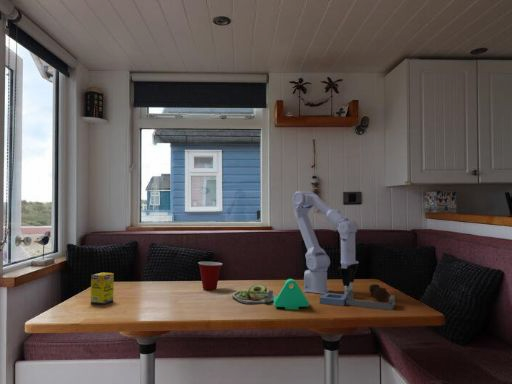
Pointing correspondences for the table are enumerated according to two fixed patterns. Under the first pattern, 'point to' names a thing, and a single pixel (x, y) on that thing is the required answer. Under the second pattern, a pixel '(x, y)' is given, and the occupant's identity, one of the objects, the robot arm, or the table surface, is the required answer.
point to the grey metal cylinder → (348, 288)
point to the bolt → (378, 292)
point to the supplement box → (102, 288)
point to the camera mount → (291, 296)
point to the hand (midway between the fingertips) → (348, 284)
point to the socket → (333, 299)
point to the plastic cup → (209, 274)
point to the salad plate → (255, 295)
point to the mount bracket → (370, 304)
